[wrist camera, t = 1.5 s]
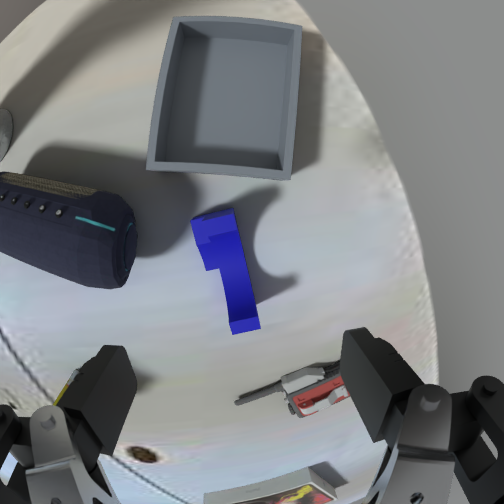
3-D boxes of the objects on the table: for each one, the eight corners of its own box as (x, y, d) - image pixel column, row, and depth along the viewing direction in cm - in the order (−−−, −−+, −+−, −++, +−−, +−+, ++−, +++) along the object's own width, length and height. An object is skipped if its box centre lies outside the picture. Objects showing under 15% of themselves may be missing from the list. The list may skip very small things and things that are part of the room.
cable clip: (194, 217, 30) (185, 225, 24) (233, 207, 30) (233, 213, 24) (220, 311, 33) (218, 337, 27) (255, 304, 33) (260, 328, 27)
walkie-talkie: (354, 339, 36) (231, 393, 37) (367, 356, 32) (231, 413, 33) (365, 376, 38) (255, 423, 39) (376, 392, 34) (257, 442, 35)
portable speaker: (157, 197, 29) (123, 204, 19) (142, 278, 31) (111, 315, 21) (12, 168, 26) (-34, 170, 16) (6, 233, 28) (-37, 249, 18)
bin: (159, 171, 28) (145, 169, 23) (180, 37, 24) (173, 17, 19) (280, 180, 29) (290, 180, 24) (292, 45, 25) (302, 26, 20)
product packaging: (203, 492, 46) (203, 506, 42) (307, 465, 45) (311, 481, 40) (246, 511, 52) (247, 523, 47) (333, 486, 50) (337, 499, 45)
